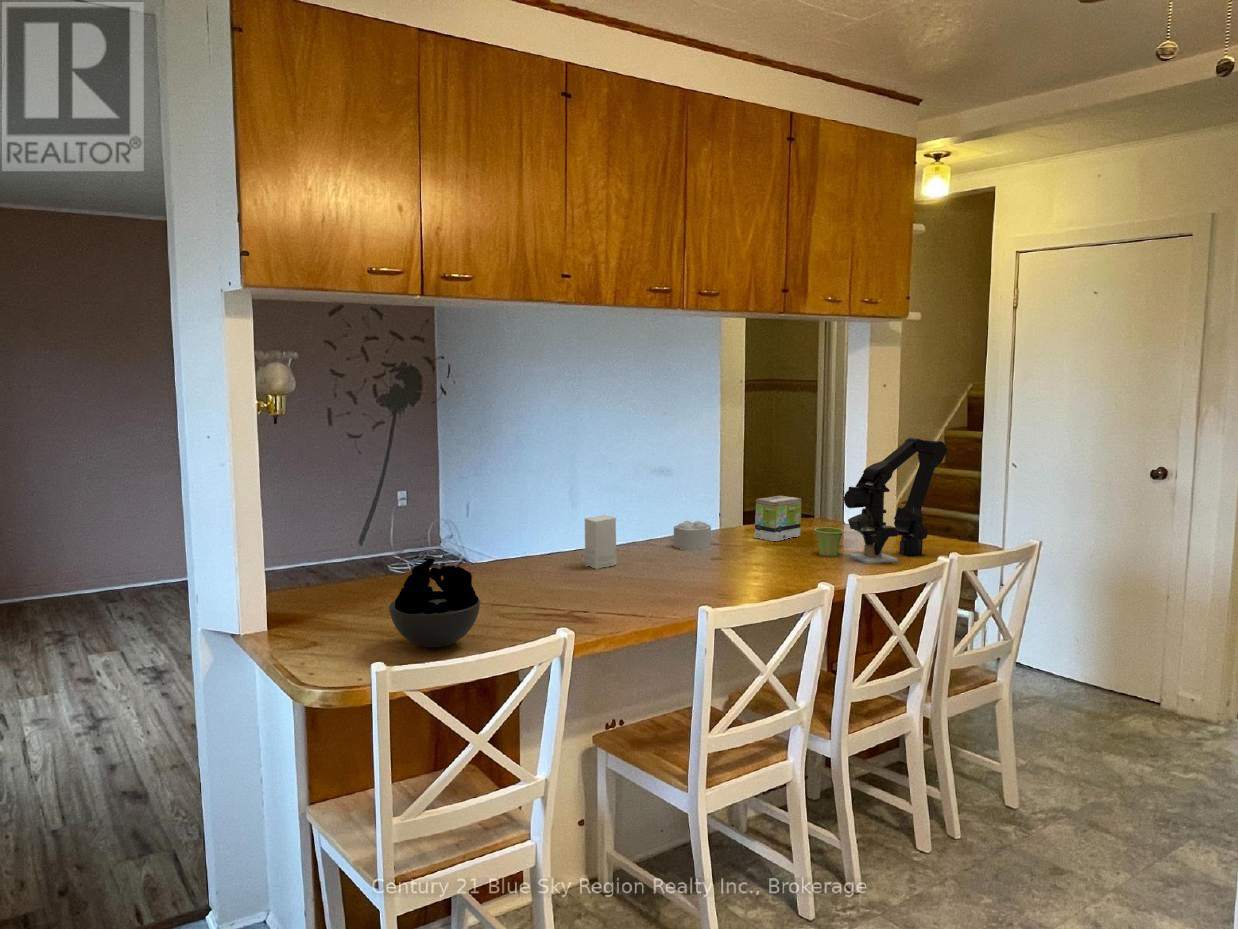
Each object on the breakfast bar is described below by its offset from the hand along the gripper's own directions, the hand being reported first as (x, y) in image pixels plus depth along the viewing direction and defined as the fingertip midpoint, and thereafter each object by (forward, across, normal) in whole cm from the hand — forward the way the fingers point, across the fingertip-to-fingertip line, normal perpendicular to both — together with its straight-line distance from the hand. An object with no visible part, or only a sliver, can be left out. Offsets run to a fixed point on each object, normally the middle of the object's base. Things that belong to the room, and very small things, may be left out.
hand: (873, 553), depth 285 cm
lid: (+2, 0, 0) cm, 2 cm away
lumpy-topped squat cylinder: (+2, -36, -48) cm, 60 cm away
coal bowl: (+2, +49, -143) cm, 151 cm away
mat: (+2, 0, 0) cm, 2 cm away
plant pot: (+2, -10, -10) cm, 15 cm away
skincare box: (+2, -16, -87) cm, 89 cm away
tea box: (+2, -42, -13) cm, 45 cm away
